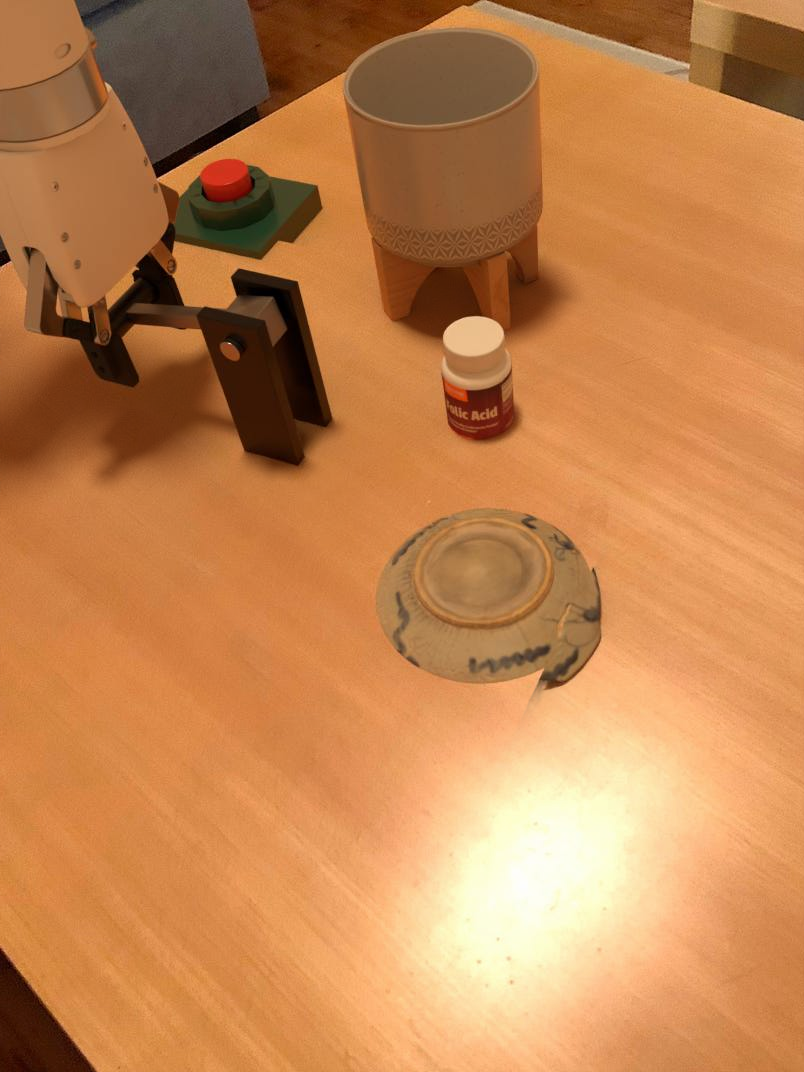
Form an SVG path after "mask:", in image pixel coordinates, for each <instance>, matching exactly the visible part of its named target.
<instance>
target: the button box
mask: <svg viewBox="0 0 804 1072" xmlns="http://www.w3.org/2000/svg"><path fill="white" fill-rule="evenodd" d="M246 165H247V167H248V170H249V174H250V178H251V181H252V185H253V188H252V191H251V192H250V193H249V194H248V195H247V196H245V197H243V198H241V199H238V200H236V201H232V202H224V203H217V202H212V201H209V200H208V199H207V197H206V194H205V191H204V188H203V185H202V181H201V178H200V174H199V175H198V176H197V177H196V178H195V179H194V180H193V181H192V182H191V183H190V184H189V185H188V188H187V189H186V190H185V191H184V192H183V193H182V194H181V195H179V205H178V210H177V215H176V220H175V223H173V225H174V226H175V230H176V234H175V240H174V242H177V243H182V244H186V245H189V246H195V247H200V248H203V249H209V250H213V251H217V252H222V253H227V254H232V255H237V256H241V257H245V258H250V259H254V260H258V261H259V260H260V261H261V260H263V258H264V257H265V256H266V255H267V254H268V253H269V251H270V250H271V249H272V248H273V247H274V246H275V245H276V244H277V242H278V241H279V242H283V243H288V244H293V243H294V242H295V240H296V239H297V238H298V237H299V236H300V235H301V233H303V231H304V230H305V229H306V228H307V227H308V225H310V224H311V222H312V221H313V220H314V219H315V218H316V217H317V215H318V214H319V213H320V212H321V211H322V209H323V203H322V200H321V195H320V191H319V187H318V184H312V183H307V182H301V181H297V180H291V179H286V178H282V177H275V176H270V175H269V174H268V173H266V172H265V171H264V170H263V169H261V167H260V166H255V165H252V164H251V165H250V164H246Z"/></svg>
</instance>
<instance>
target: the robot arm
mask: <svg viewBox="0 0 804 1072" xmlns="http://www.w3.org/2000/svg"><path fill="white" fill-rule="evenodd" d="M97 47H98V41H97V37H96V36H95V34H94V33H93V32H92V31H91V30H90V28H88V27H86V26H84V23H83V20H82V18H81V15H80V12H79V9H78V7H77V3H76V2H75V0H0V237H1V241H2V243H3V245H4V247H5V249H6V252H7V254H8V256H9V259H10V261H11V263H12V265H13V267H14V270H15V272H16V274H17V276H18V278H19V279H20V281H21V284H22V285H23V287H24V289H25V290H26V297H25V308H24V318H23V319H24V321H23V326H24V328H25V330H26V331H28V332H30V333H34V334H38V335H42V336H48V337H55V338H65V339H72V340H76V341H79V343H80V345H81V347H82V349H83V352H84V353H85V355H86V358H87V360H88V361H89V363H90V366H91V368H92V369H93V372H94V373H95V375H96V376H97V377H98V378H99V379H100V380H103V381H106V382H110V383H113V384H116V385H121V386H125V387H128V388H132V389H133V388H135V387H136V386H138V384H139V383H140V375H139V374H138V371H137V369H136V367H135V365H134V362H133V360H132V357H131V356H130V355H131V354H129V351H128V349H127V346H126V344H125V342H124V339H123V337H122V338H121V336H119V335H118V334H114V333H111V329H110V322H109V316H108V309H109V308H108V303H107V297H106V295H107V294H109V292H110V291H111V290H112V289H113V288H114V287H116V285H118V283H120V281H121V280H123V278H124V277H125V276H126V275H128V273H129V272H131V270H132V269H134V267H135V268H136V269H134V271H132V272H131V275H132V278H133V279H132V280H133V283H134V282H135V281H136V280H137V279H139V278H146V279H148V280H150V281H151V282H152V283H153V284H154V285H155V286H156V287H157V289H158V291H159V294H160V296H159V299H158V300H157V301H156V302H155V303H154V304H160V305H175V306H185V303H184V300H183V297H182V295H181V293H180V290H179V287H178V284H177V281H176V279H175V277H174V275H175V274H176V272H177V270H178V261H177V260H176V257H174V255H173V252H174V247H175V241H174V240H175V234H176V230H175V226H174V225H173V223H175V220H176V215H177V210H178V205H179V197H180V194H179V192H178V191H177V190H175V189H173V188H171V187H169V186H167V185H166V184H164V183H162V182H160V181H158V178H157V176H156V173H155V169H154V168H153V166H152V163H151V161H150V158H149V155H148V153H147V152H146V151H147V150H146V149H145V147H144V145H143V143H142V141H141V139H140V136H139V134H138V132H137V130H136V128H135V126H134V123H133V122H132V120H131V118H130V116H129V115H128V113H127V111H126V110H125V107H124V105H123V104H122V102H121V101H120V98H119V97H118V96H117V94H116V92H115V91H114V89H113V87H112V86H111V85H110V84H109V83H108V82H105V79H104V78H103V77H104V76H103V74H102V72H101V69H100V67H99V63H98V61H97V58H96V55H95V53H94V51H95V50H96V49H97ZM57 301H58V302H59V306H60V311H61V315H59V314H58V312H57V304H58V302H57ZM82 308H84V309H85V308H87V309H86V310H87V315H88V320H89V321H86V320H84V317H83V313H82ZM171 328H173V329H177V330H181V331H183V330H184V331H186V330H188V329H187V328H174V327H171Z"/></svg>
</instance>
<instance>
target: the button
mask: <svg viewBox="0 0 804 1072" xmlns="http://www.w3.org/2000/svg"><path fill="white" fill-rule="evenodd" d="M247 165H248V164H247V163H245V162H244V161H243V160H240V159H237V158H222V159H218V160H216V161H212V162H210V163H209V164H207V165H206V166H205V167H204V168H203V169H201V171H200V173H199V175H200V178H201V181H202V185H203V188H204V191H205V194H206V197H207V199H208V200H209V201H212V202H217V203H224V202H232V201H236V200H238V199H241V198H243V197H245V196H247V195H248V194H249V193H250V192H251V191H252V188H253V185H252V181H251V178H250V174H249V170H248V167H247Z"/></svg>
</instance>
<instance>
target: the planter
mask: <svg viewBox="0 0 804 1072" xmlns="http://www.w3.org/2000/svg"><path fill="white" fill-rule="evenodd" d="M540 86H541V85H540V65H539V60H538V58H537V57H536V55H535V53H534V52H533V51H532V49H531V48H530V47H529V46H528V45H527V44H525V43H524V42H523V41H521V40H519V39H518V38H515V37H513V36H511V35H508V34H506V33H503V32H499V31H495V30H493V29H486V28H482V27H481V28H480V27H470V26H444V27H433V28H427V29H426V28H425V29H421V30H416V31H412V32H407V33H403V34H401V35H398V36H394V37H392V38H390V39H386V40H384V41H383V42H380V43H378V44H376V45H374V46H373V47H371V48H369V49H368V50H366V51H364V52H363V53H362V54H361V55H359V56H358V57H357V58H355V60H354V61H353V62H352V63H351V64H350V65H349V67H348V68H347V69H346V72H345V74H344V76H343V79H342V94H343V100H344V105H345V111H346V115H347V122H348V127H349V132H350V137H351V142H352V150H353V155H354V160H355V165H356V166H355V167H356V172H357V177H358V181H359V182H358V183H359V188H360V194H361V199H362V204H363V205H362V206H363V210H364V216H365V221H366V225H367V229H368V232H369V233H370V235H371V238H370V240H371V246H372V250H373V257H374V262H375V268H376V273H377V278H378V284H379V290H380V295H381V301H382V302H381V303H382V307H383V312H384V313H385V315H386V316H387V317H388V318H389V320H390V321H391V322H395V321H397V320H400V319H403V318H405V317H407V316H410V312H411V308H412V305H413V301H414V299H415V296H416V294H417V292H418V290H419V289H420V287H421V285H422V284H423V283H424V281H425V280H426V279H427V277H428V276H429V275H430V274H431V273H432V272H433V271H434V270H435V269H436V268H459V267H461V268H462V270H463V271H464V273H465V276H466V277H467V279H468V282H469V284H470V286H471V288H472V290H473V292H474V296H475V297H476V300H477V303H478V307H479V310H480V313H481V317H487V318H490V319H492V320H494V321H496V322H497V323H499V325H500V326H501V327H502V329H503V331H504V332H505V331H506V330H509V329H511V327H512V323H511V307H510V291H509V289H510V288H509V275H508V259H507V253H509V254H510V255H509V256H510V257H511V259H512V260H513V263H514V266H515V274H516V275H517V277H518V278H519V279H520V280H521V281H522V282H523V283H524V284H528V283H531V282H533V281H536V280H539V278H540V271H539V269H540V268H539V243H538V241H539V240H538V237H539V236H538V223H539V222H540V219H541V217H542V214H543V207H544V195H543V194H544V193H543V160H542V159H543V158H542V157H543V156H542V123H541V88H540Z"/></svg>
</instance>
